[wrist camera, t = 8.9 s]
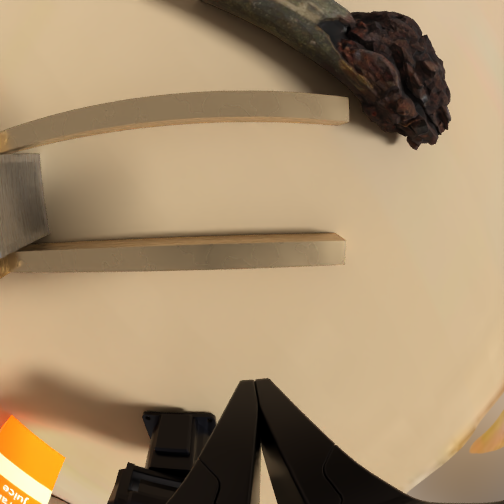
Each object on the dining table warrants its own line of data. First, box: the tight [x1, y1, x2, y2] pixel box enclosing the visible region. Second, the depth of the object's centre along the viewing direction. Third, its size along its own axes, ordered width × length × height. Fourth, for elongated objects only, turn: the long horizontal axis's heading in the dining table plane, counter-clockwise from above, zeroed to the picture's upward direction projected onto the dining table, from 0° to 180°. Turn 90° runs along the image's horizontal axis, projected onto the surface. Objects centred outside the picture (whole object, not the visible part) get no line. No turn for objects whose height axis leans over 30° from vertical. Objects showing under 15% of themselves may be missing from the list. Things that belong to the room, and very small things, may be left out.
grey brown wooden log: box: [201, 0, 451, 150], centre depth 13 cm, size 18×7×6 cm, turn 53°
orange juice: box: [0, 415, 65, 504], centre depth 15 cm, size 8×9×20 cm
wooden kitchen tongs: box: [0, 91, 349, 279], centre depth 14 cm, size 16×36×9 cm, turn 91°
